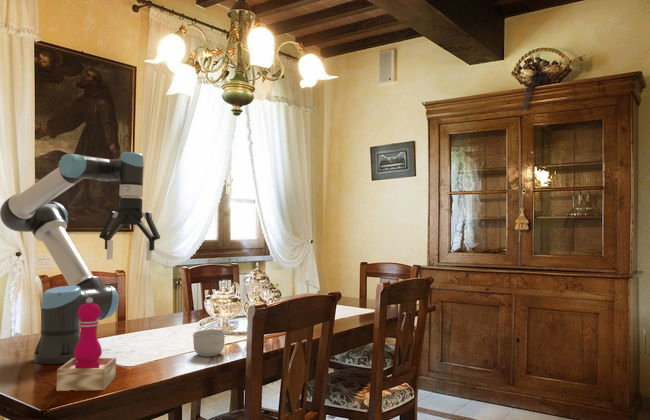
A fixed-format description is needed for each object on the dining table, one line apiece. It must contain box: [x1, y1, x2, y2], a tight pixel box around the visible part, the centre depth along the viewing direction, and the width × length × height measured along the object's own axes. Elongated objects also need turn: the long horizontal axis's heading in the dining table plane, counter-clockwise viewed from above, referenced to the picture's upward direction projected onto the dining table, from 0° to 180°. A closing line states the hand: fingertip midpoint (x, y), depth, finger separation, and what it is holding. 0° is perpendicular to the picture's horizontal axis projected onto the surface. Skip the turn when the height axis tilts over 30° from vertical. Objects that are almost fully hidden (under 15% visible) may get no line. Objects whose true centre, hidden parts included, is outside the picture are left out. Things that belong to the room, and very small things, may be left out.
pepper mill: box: [74, 297, 103, 368], centre depth 151 cm, size 7×7×20 cm
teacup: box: [192, 328, 225, 358], centre depth 187 cm, size 14×11×8 cm
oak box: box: [56, 357, 117, 392], centre depth 150 cm, size 12×12×6 cm
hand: (129, 259), depth 182 cm, fingers open, 13 cm apart
